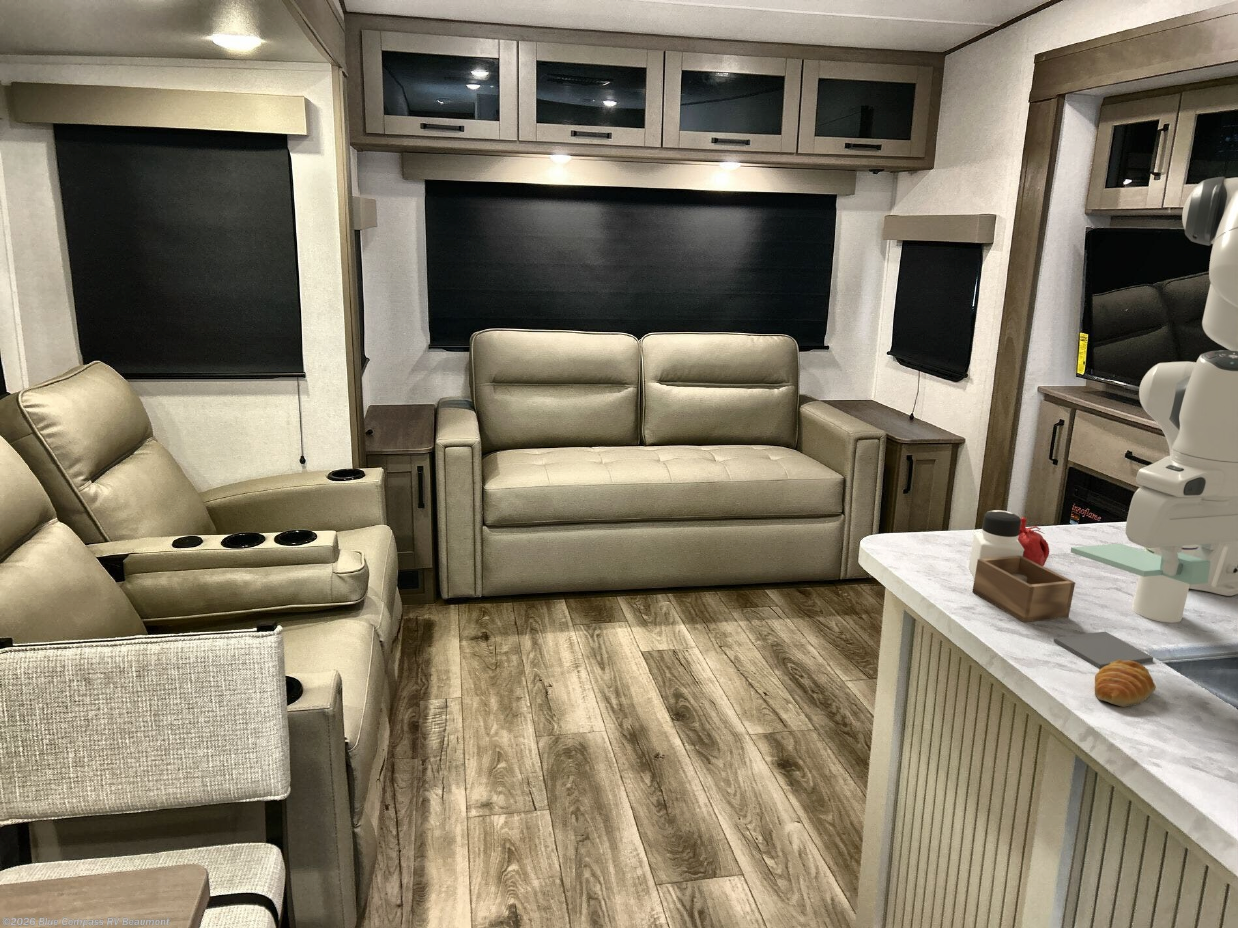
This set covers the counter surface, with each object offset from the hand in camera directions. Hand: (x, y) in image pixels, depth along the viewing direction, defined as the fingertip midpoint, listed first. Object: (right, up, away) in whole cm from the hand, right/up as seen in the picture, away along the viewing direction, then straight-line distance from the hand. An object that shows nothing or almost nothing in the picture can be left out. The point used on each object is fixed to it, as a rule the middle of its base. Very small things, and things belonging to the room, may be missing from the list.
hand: (1183, 572), depth 121 cm
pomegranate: (-3, -4, +44) cm, 44 cm away
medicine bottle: (-10, -6, +38) cm, 39 cm away
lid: (-2, 0, +6) cm, 6 cm away
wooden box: (-11, -8, +26) cm, 30 cm away
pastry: (-9, -16, -1) cm, 19 cm away
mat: (-5, -13, +11) cm, 18 cm away
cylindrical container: (+12, -10, +26) cm, 30 cm away
